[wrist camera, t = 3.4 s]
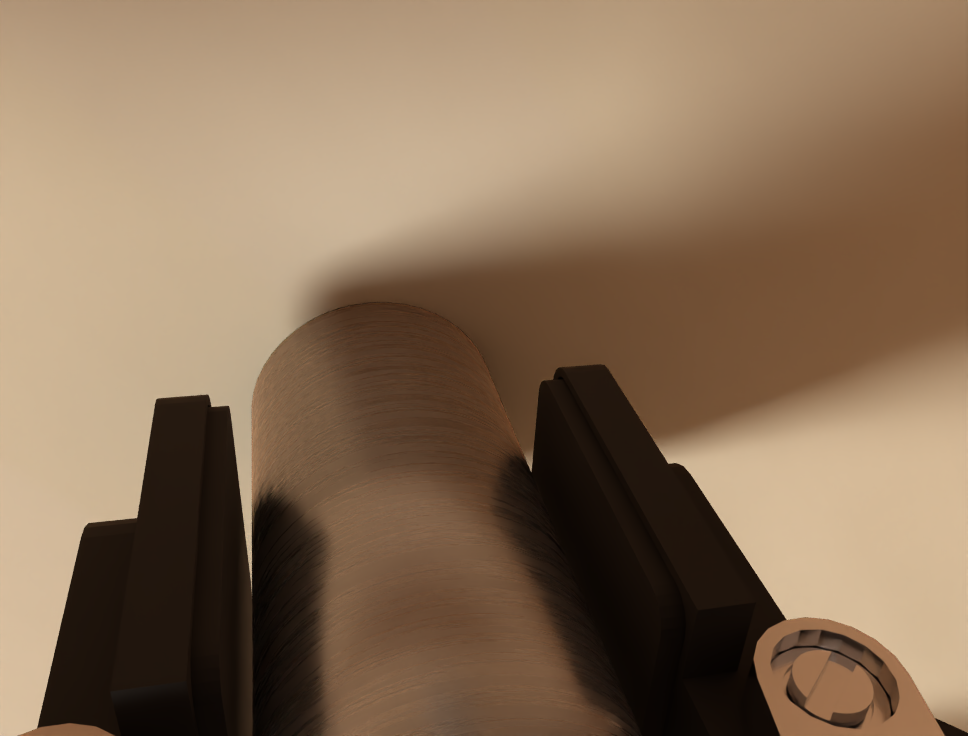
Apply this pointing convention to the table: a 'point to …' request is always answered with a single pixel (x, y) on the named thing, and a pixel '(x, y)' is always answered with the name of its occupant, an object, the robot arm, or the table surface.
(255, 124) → the table surface
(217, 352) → the table surface
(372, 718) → the pin
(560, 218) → the table surface
